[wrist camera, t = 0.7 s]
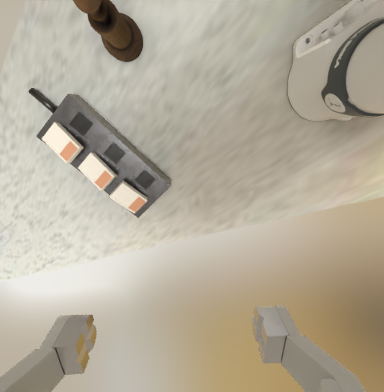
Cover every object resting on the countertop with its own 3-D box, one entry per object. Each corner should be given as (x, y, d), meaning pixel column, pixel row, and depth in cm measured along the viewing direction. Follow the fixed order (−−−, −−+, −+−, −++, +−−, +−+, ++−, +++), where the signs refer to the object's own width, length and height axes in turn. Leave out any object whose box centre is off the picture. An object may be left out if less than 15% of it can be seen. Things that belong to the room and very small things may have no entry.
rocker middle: (94, 152, 42) (90, 152, 40) (117, 175, 42) (113, 176, 41) (81, 167, 43) (77, 168, 41) (104, 189, 43) (100, 191, 42)
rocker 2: (123, 180, 42) (122, 183, 41) (147, 197, 45) (147, 200, 44) (109, 194, 43) (109, 197, 42) (134, 210, 46) (134, 214, 45)
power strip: (49, 69, 40) (33, 64, 36) (171, 180, 49) (170, 187, 44) (20, 111, 42) (1, 111, 38) (141, 209, 51) (137, 219, 47)
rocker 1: (59, 122, 40) (53, 122, 38) (83, 147, 40) (79, 147, 39) (46, 139, 40) (40, 138, 39) (70, 163, 41) (65, 163, 40)
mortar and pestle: (99, 48, 39) (38, 2, 23) (113, 9, 37) (57, -73, 21) (134, 69, 41) (100, 41, 24) (149, 32, 39) (124, -26, 22)
